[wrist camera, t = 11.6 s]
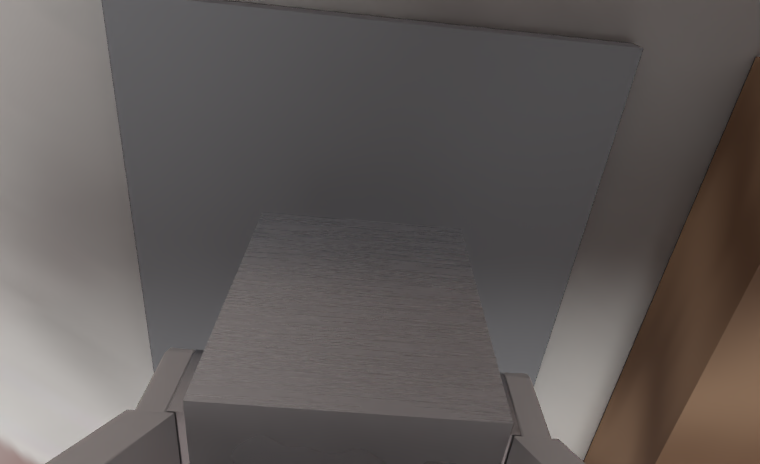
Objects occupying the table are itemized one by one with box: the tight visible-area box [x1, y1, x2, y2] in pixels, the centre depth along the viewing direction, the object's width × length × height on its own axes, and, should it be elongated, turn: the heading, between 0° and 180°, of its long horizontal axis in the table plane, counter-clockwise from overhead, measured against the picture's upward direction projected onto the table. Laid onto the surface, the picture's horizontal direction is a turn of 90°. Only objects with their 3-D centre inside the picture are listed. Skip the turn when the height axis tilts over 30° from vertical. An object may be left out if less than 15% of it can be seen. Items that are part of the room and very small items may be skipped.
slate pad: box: [102, 0, 643, 387], centre depth 15 cm, size 12×12×1 cm
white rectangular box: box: [183, 212, 513, 464], centre depth 10 cm, size 6×4×5 cm, turn 175°
